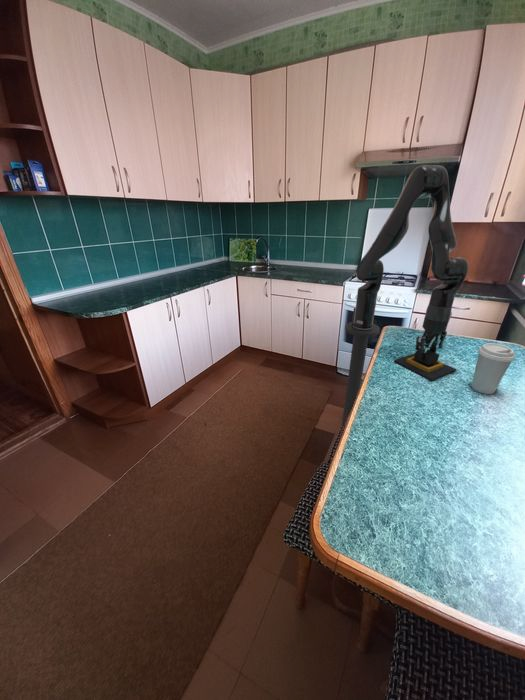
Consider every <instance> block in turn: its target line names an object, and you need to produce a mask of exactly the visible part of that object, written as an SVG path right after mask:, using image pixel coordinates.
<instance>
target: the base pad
mask: <svg viewBox="0 0 525 700" xmlns="http://www.w3.org/2000/svg"><path fill="white" fill-rule="evenodd" d="M414 355H415V352H414V353H412V354H409V355H405V356H402V357H400V358H397V359H394V360H393V363H395V364H396V365H398V366H400V367H402V368H404V369H406V370H408V371H410V372H412V373H414V374H416V375H417V376H419V377H422V378H424V379H426V380H428V381H429V382H434V381H436V380H439V379H441V378H444V377H446V376H448V375H451V374H453V373H455V372H456V371H457V368H455V367H453V366H450V365H448V364H445V362H442V361H439V360H438V361H437V362H435V363H432V364H429V365H427V364H425V363H423V362H421V361H419V360H416V359H414Z"/></svg>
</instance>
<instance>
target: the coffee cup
mask: <svg viewBox="0 0 525 700" xmlns="http://www.w3.org/2000/svg"><path fill="white" fill-rule="evenodd" d="M477 354H478V356H477V360H476V363H475V368H474V372H473V376H472V381H471V384H470V385H471V386H470V387H471V388H472V389H473V390H474V391H476V392H478V393H482V394H486V395H492V394H494V393H495V392H496V391H497V388H498V387H499V385H500V383H501V381H502V379H503V378H504V376H505V374H506V372H507V371H508V369H509V367H510V365H511V363H512V362H514V361H515V360H516V355H515V350H513V349H512V348H511V347H509V346H507V345H503V344H500V343H494V342H493V343H492V342H488V343H483V345H482V346H479V348H478V349H477Z"/></svg>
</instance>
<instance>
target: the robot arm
mask: <svg viewBox="0 0 525 700" xmlns="http://www.w3.org/2000/svg"><path fill="white" fill-rule="evenodd" d="M423 197H429V199H430V202H431V204H432V213H431V216H430V221H429V223H428V229H427V231H428V239H429V242H430V247H431V251H432V252H431V262H430V263H431V264H430V271H431V275H432V277H433V278H434V279H435V280H437V281H440V282H442V283H440V285H437V286H435V287H433V289H432V291H431V293H430V297H429V301H428V304H427V307H426V309H425V314H424V317H423V322H422V328H423V330H424V331H423V334H422V335H421V336H419V335H417V336H416V341H415V349H414V350H415V351H419V355H418V360H419V361H421V362H423V361H424V358H425V355H426V351H427V349H428V350H430V351H433V352H435V353H437V350H438V349H439V346H440V347H442V346H443V345H442V343H443V341H444V339H445V340H446V336H447V334H448V331H447V328H448V326H449V323H448V322H450V320H449V318H450V315H451V312H452V309H453V305H454V302H455V298H456V294H457V292H458V291H459V289H460V288H461V286H462V284H463V283H464V281H465V280H466V278H467V275H468V273H469V263H468V261H467V259H465V258H463V257H450V253H451V252H453V251H454V250H456V248H457V246H458V241H457V236H456V234H455V229H454V225H453V220H452V216H451V215H452V214H451V198H450V197H451V195H450V181H449V174H448V171H447V169H446V168H445V167H444V166H443V165H439V164H438V165H437V164H436V165H435V164H427V165H426V164H423V165H418V166H417V167H415V168H414V169H413V170H412V171H411V173H410V174H409V176H408V178H407V180H406V182H405V184H404V186H403V188H402V190H401V192H400V194H399V197H398V199H397V201H396V203H395V205H394V207H393V209H392V210H391V212H390V214H389V215H388V217H387V219H386V221H385V222H384V224H383V226H382V227H381V229H380V230H379V233H378V234H377V236H376V238H375V239H374V241H373V242H372V244H371V246H370V247H369V249H368V250H367V251H366V253H365V254H364V256H363V257H362V258H361V260H360V261H359V262H358V264H357V266H356V270H355V277H356V278H357V280H359V281H361V282H365V283H364V284H363V285H361V286H359V287H358V288H357V294H356V299H355V300H356V301H355V307H354V308H353V312H352V318H351V319H352V320H351V322H352V326H353V328H355V329H357V330H362V331H368V330H371V329H372V325H373V324H374V318H375V313H376V307H377V301H378V295H379V294H378V293H379V291H380V289H381V285H382V280H383V277H384V269H385V267H384V263H383V262H382V260H381V259H382V258H383V257H385V256H386V255H387V254H390V252H391V251H393V250H394V249H396V248H397V247H398V246H399V244H400V243H401V242H402V240H403V239H404V237H405V236H406V234H407V233H408V230H409V226H410V212H411V210H412V208H413V207H414V205H415V203H416V202H417V200H418V199H419V198H423ZM450 319H451V318H450ZM440 340H441V341H440ZM424 348H425V349H424Z"/></svg>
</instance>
